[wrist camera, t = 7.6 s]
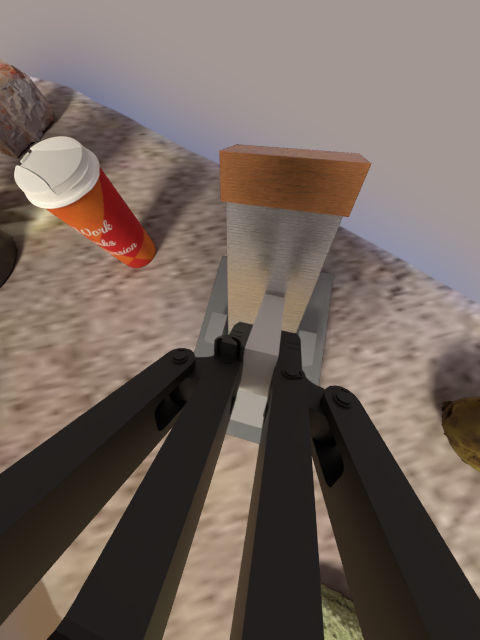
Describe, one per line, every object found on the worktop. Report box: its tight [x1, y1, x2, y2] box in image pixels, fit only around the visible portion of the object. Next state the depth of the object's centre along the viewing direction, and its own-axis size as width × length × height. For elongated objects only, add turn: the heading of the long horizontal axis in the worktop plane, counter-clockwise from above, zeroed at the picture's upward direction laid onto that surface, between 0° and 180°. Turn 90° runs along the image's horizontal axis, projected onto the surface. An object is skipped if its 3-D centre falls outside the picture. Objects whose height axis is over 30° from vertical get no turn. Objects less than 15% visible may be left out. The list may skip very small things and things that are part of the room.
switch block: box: [194, 256, 334, 444], centre depth 22 cm, size 20×14×7 cm
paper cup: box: [14, 136, 156, 268], centre depth 24 cm, size 8×8×14 cm
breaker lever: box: [219, 144, 371, 335], centre depth 15 cm, size 3×6×16 cm, turn 77°
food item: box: [0, 59, 54, 158], centre depth 37 cm, size 14×8×10 cm, turn 153°
